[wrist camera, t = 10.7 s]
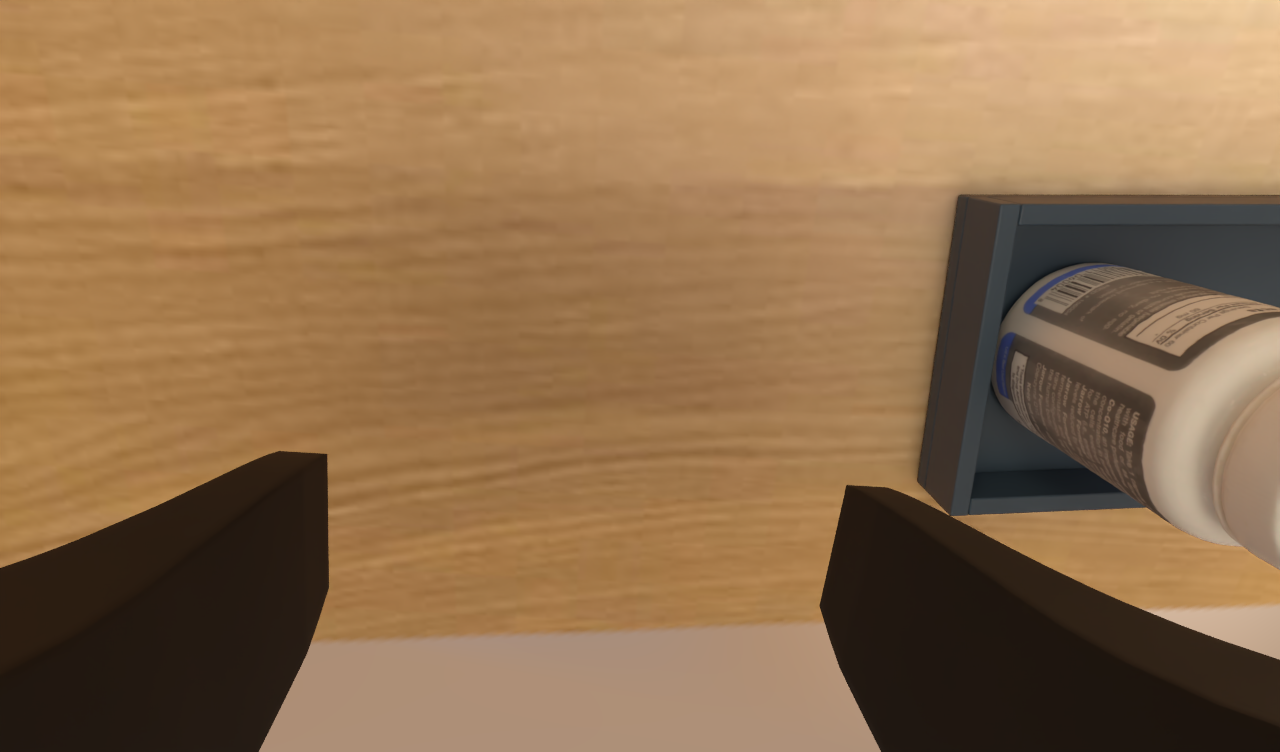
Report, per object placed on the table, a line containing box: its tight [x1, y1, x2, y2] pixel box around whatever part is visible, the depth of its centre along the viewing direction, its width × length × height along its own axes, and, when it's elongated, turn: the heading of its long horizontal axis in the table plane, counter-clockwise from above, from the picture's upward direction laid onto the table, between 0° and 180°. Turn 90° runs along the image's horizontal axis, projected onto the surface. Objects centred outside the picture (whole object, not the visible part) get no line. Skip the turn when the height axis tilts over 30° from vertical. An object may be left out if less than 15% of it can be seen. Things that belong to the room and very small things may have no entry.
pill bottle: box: [991, 263, 1280, 570], centre depth 17 cm, size 5×5×8 cm
